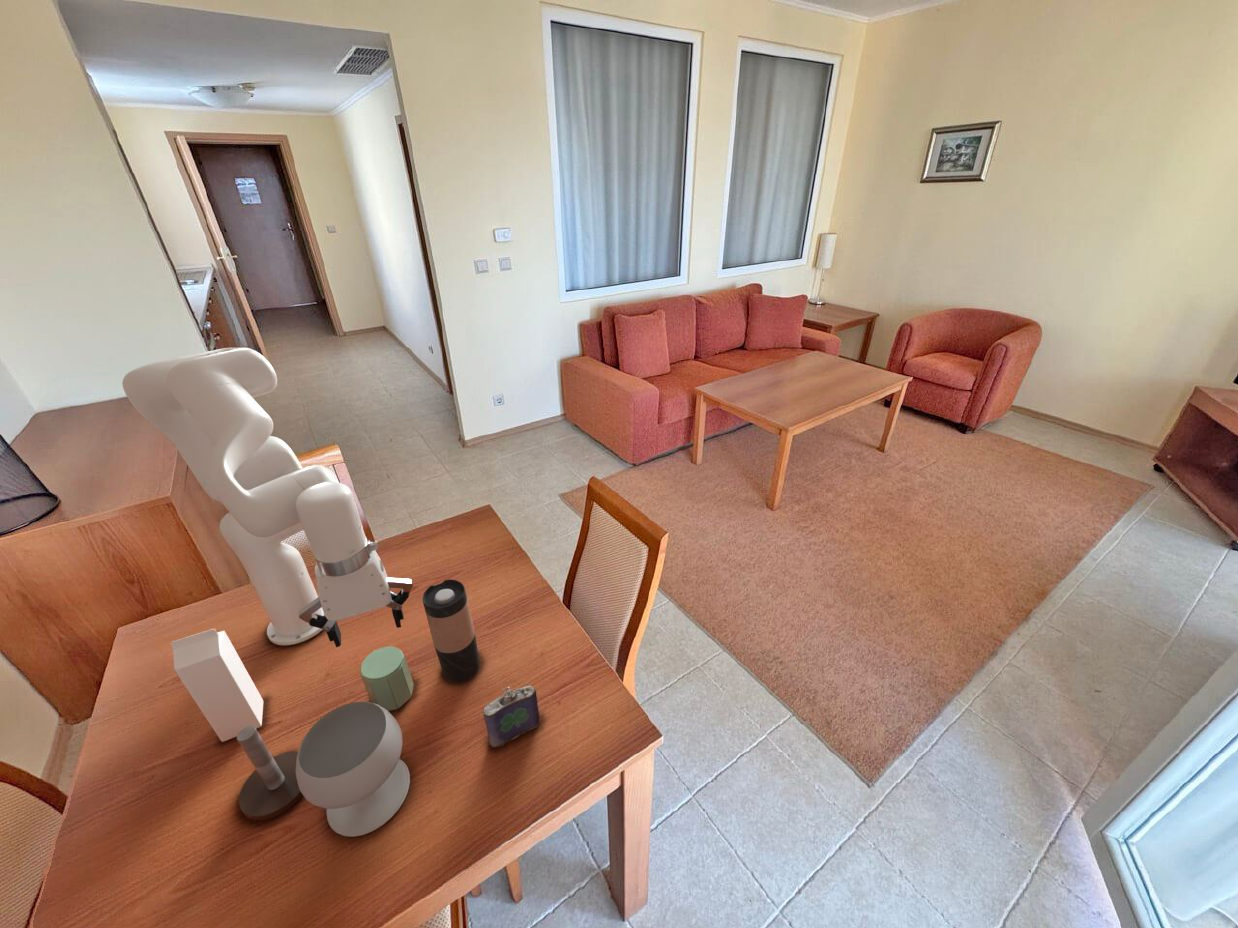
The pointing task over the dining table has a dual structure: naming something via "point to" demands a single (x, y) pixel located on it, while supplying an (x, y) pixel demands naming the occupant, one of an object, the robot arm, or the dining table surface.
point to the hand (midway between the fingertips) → (369, 631)
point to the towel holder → (267, 779)
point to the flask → (511, 715)
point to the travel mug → (452, 630)
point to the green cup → (387, 678)
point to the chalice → (354, 767)
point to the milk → (218, 682)
